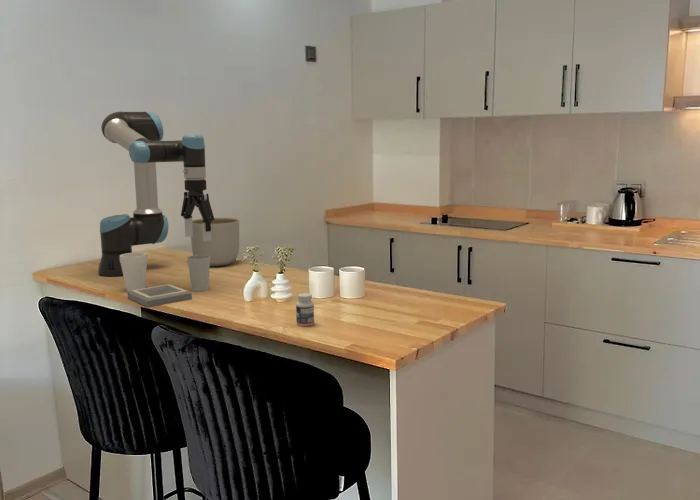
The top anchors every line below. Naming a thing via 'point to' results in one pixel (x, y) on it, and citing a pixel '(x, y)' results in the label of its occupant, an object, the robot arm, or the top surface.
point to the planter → (217, 240)
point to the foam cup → (134, 270)
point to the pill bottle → (305, 310)
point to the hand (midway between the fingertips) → (198, 238)
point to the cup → (199, 272)
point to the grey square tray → (159, 295)
